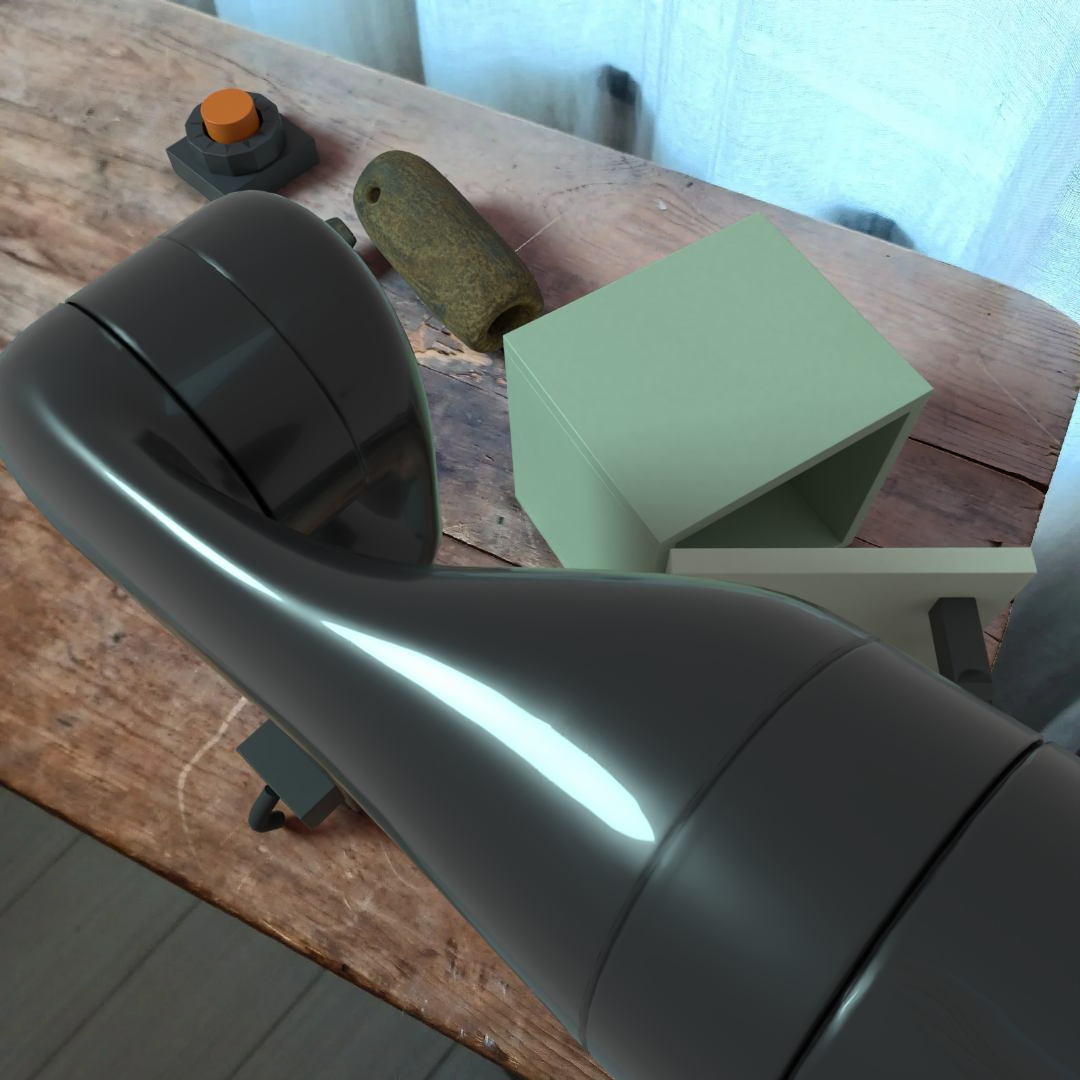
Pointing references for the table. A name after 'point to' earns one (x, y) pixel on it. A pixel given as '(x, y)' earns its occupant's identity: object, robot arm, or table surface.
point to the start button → (230, 116)
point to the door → (890, 594)
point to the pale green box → (705, 408)
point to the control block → (243, 154)
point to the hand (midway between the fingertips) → (932, 677)
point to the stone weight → (446, 250)
